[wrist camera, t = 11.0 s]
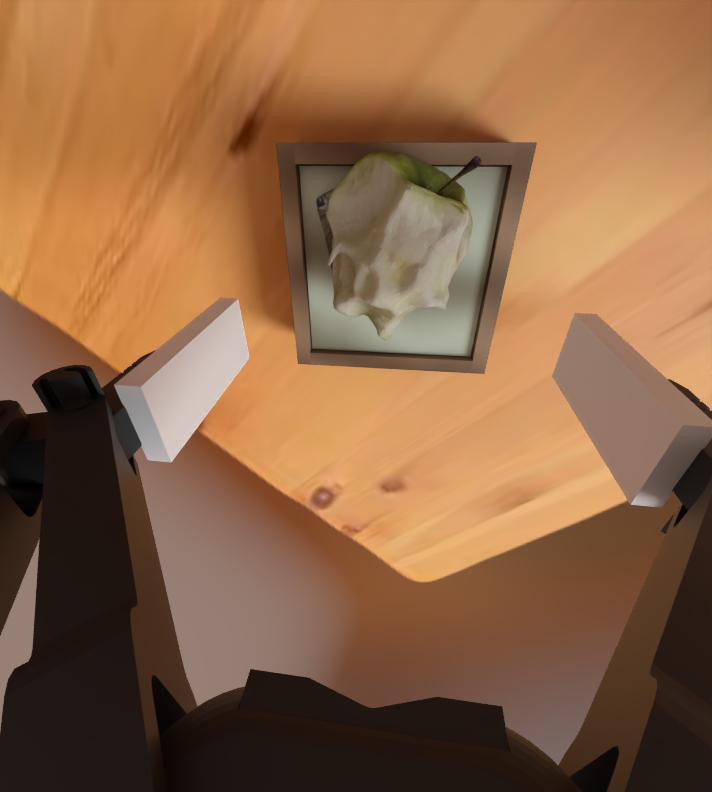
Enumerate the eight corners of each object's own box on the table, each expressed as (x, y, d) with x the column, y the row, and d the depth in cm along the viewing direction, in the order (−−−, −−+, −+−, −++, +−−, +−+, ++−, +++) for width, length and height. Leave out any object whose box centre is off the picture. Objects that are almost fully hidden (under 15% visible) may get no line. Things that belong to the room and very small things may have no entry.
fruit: (423, 116, 20) (478, 97, 14) (469, 267, 25) (525, 308, 19) (282, 200, 22) (270, 219, 15) (351, 327, 27) (365, 384, 20)
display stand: (296, 144, 24) (276, 142, 20) (513, 144, 23) (536, 142, 19) (311, 337, 32) (298, 363, 28) (473, 345, 31) (484, 373, 27)
